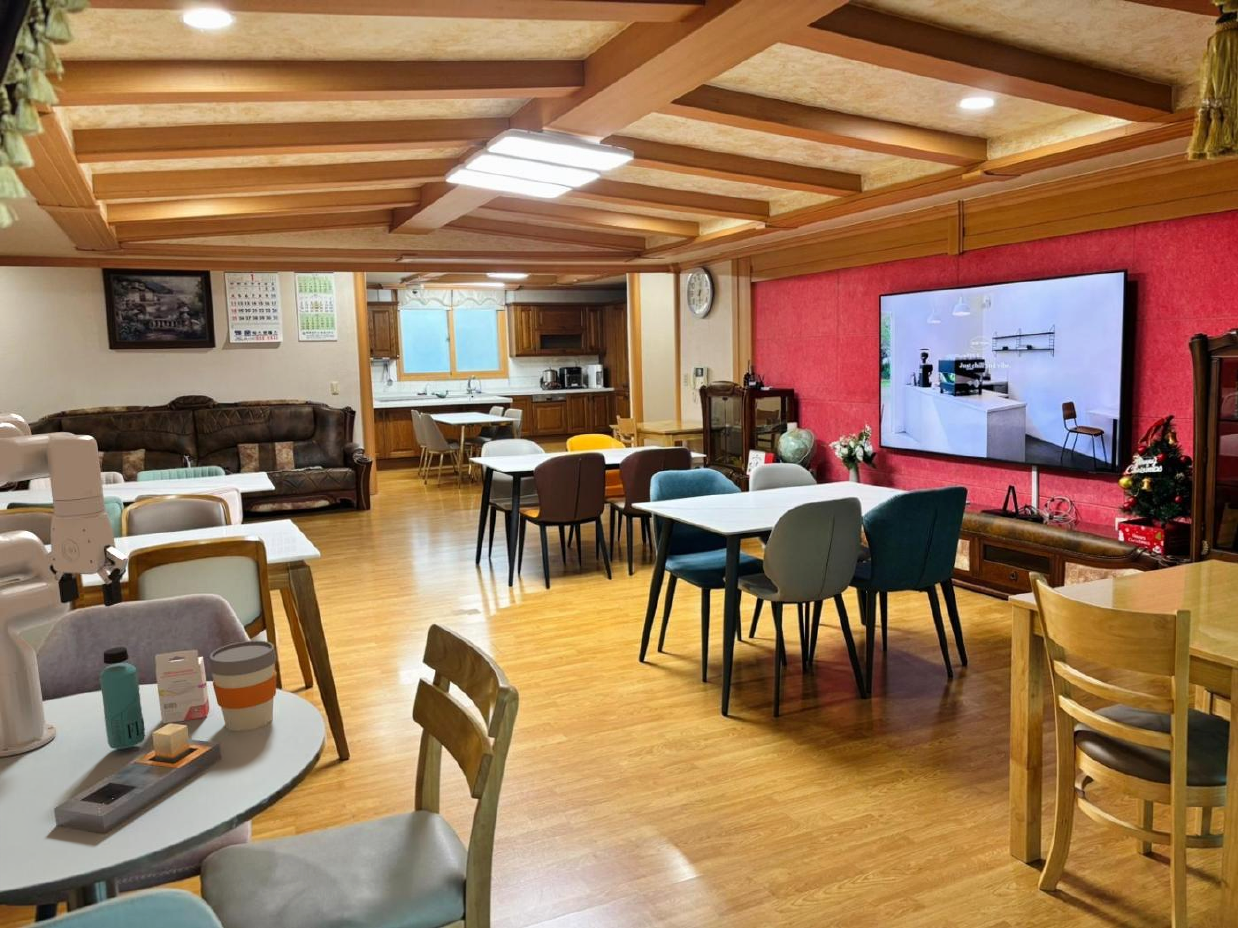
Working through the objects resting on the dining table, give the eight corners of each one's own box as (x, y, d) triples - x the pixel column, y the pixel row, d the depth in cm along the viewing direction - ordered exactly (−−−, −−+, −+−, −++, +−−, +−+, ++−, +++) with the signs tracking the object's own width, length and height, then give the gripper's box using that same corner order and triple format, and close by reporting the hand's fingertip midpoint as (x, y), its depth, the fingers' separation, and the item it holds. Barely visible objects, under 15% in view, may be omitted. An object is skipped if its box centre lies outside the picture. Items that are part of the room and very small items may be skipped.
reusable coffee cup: (280, 728, 179) (273, 656, 176) (212, 739, 175) (204, 666, 173) (283, 704, 190) (277, 636, 188) (219, 713, 187) (212, 645, 185)
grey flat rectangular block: (56, 825, 145) (53, 807, 145) (177, 752, 170) (176, 736, 169) (104, 833, 142) (102, 815, 142) (221, 757, 167) (219, 742, 166)
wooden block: (157, 774, 161) (152, 732, 160) (174, 764, 165) (169, 723, 164) (174, 777, 160) (169, 735, 159) (191, 766, 164) (187, 725, 163)
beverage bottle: (130, 757, 168) (117, 656, 165) (99, 755, 170) (86, 654, 167) (154, 742, 175) (143, 643, 172) (125, 740, 176) (113, 642, 173)
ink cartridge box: (210, 708, 190) (203, 642, 188) (206, 717, 185) (199, 649, 183) (165, 714, 187) (158, 647, 185) (161, 724, 183) (153, 655, 180)
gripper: (21, 510, 153) (34, 606, 156) (100, 512, 148) (112, 612, 151) (60, 501, 161) (72, 593, 163) (136, 504, 155) (148, 599, 158)
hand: (91, 602), depth 157 cm, fingers open, 9 cm apart
